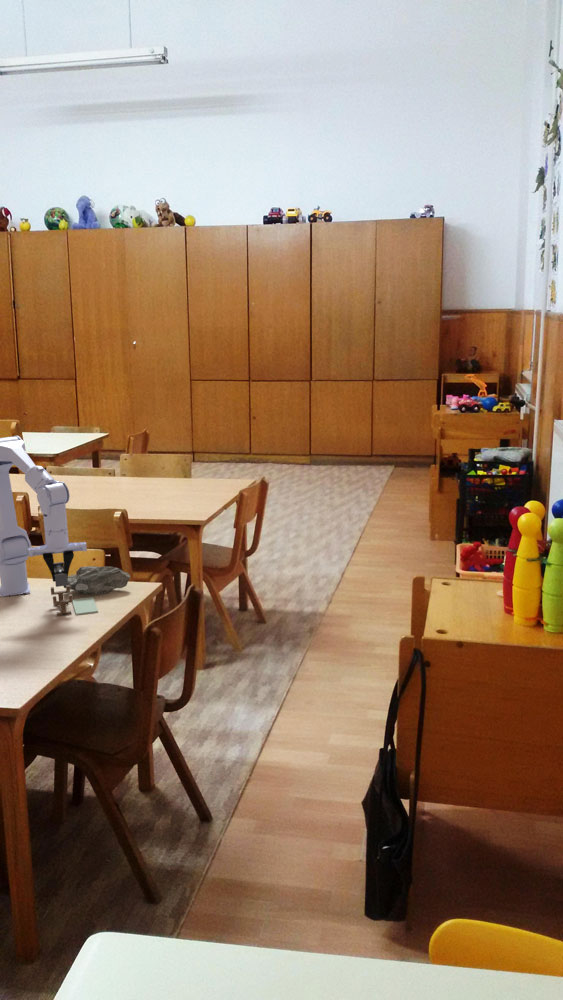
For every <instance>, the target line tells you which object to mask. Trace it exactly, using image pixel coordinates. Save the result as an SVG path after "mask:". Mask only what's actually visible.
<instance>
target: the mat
mask: <svg viewBox="0 0 563 1000" xmlns="http://www.w3.org/2000/svg"><path fill="white" fill-rule="evenodd" d="M95 601H96V600H95V599H94V597H93V596H90V597H85V598H83V597H82V598H76V599H75V598H74V599H73V603H72V606H73V609H74V612H75V615H76V616H80V615H88V614H94V613H95V614H96V613H98V612H99V609H98V607H97V604H96V602H95Z"/></svg>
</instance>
